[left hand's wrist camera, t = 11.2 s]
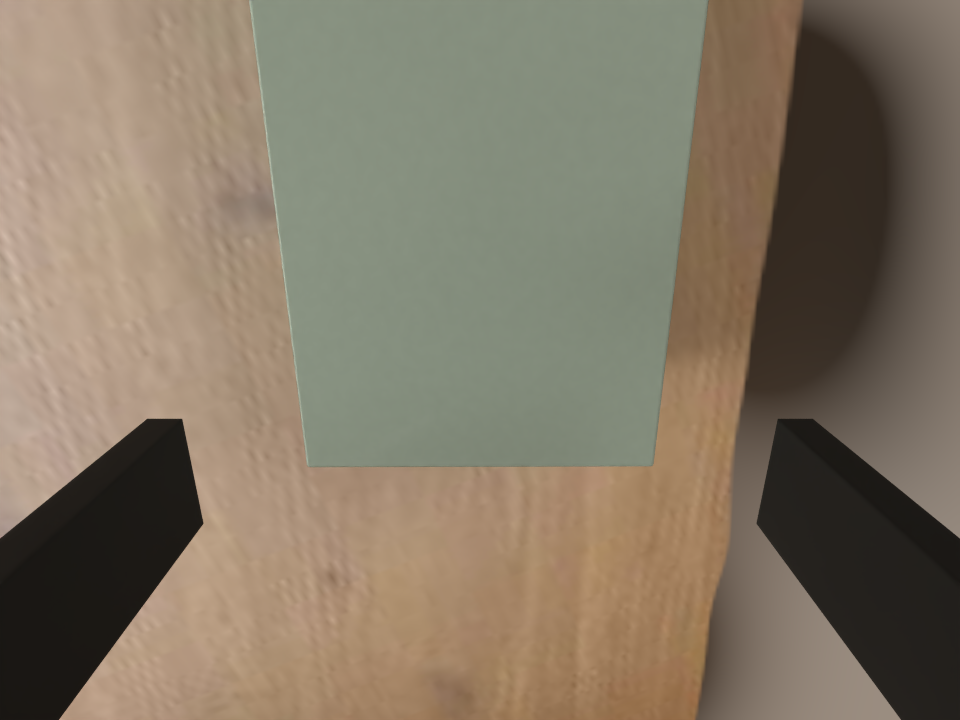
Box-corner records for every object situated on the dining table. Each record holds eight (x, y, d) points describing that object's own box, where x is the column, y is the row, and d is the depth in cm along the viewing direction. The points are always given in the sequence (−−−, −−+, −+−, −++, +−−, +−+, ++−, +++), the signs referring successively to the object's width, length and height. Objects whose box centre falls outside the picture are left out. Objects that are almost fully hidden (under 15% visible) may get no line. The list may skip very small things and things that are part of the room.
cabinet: (313, -149, 19) (204, -343, 12) (643, -149, 19) (751, -344, 12) (357, 374, 26) (306, 468, 18) (602, 374, 26) (654, 467, 18)
